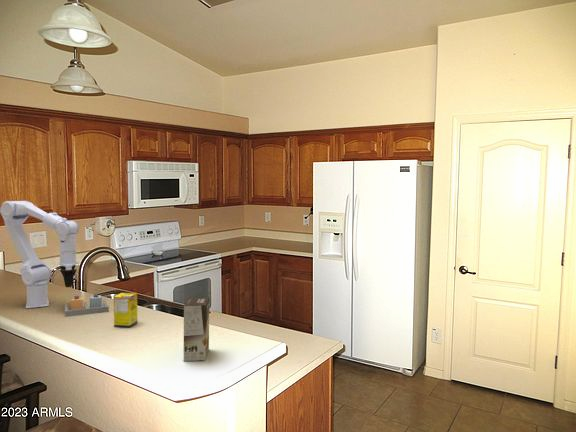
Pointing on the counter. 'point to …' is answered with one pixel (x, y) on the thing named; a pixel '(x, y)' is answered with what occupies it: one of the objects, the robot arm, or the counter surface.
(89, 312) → the e-shaped shelf rack
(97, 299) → the seated plug
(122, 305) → the supplement box
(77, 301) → the orange plug
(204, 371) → the counter surface
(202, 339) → the coffee box
